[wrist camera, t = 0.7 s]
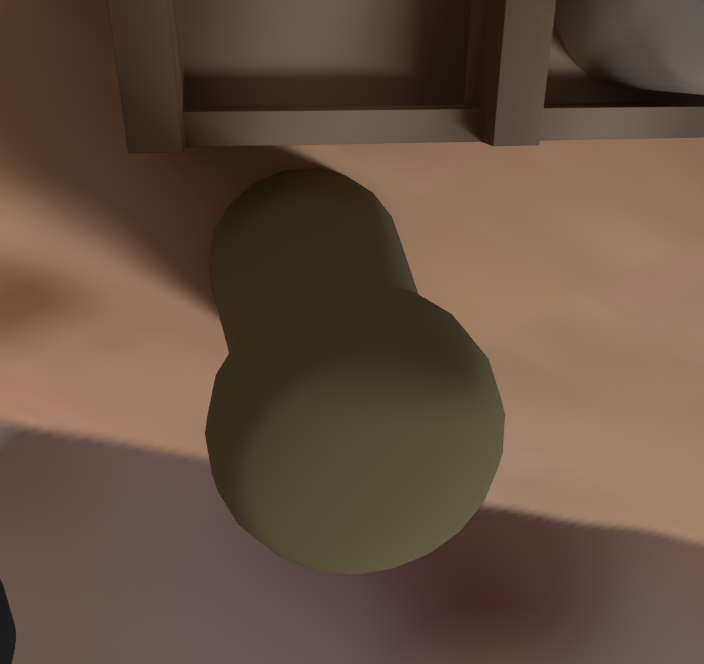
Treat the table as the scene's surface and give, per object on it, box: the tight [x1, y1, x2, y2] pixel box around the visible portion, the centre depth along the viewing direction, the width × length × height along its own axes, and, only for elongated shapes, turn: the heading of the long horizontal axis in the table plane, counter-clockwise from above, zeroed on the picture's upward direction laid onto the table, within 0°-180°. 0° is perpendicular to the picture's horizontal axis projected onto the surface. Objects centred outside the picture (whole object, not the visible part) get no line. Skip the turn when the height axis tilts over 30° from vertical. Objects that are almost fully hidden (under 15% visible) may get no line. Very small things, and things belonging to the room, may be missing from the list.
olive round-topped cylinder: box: [205, 169, 505, 575], centre depth 15 cm, size 6×6×11 cm
